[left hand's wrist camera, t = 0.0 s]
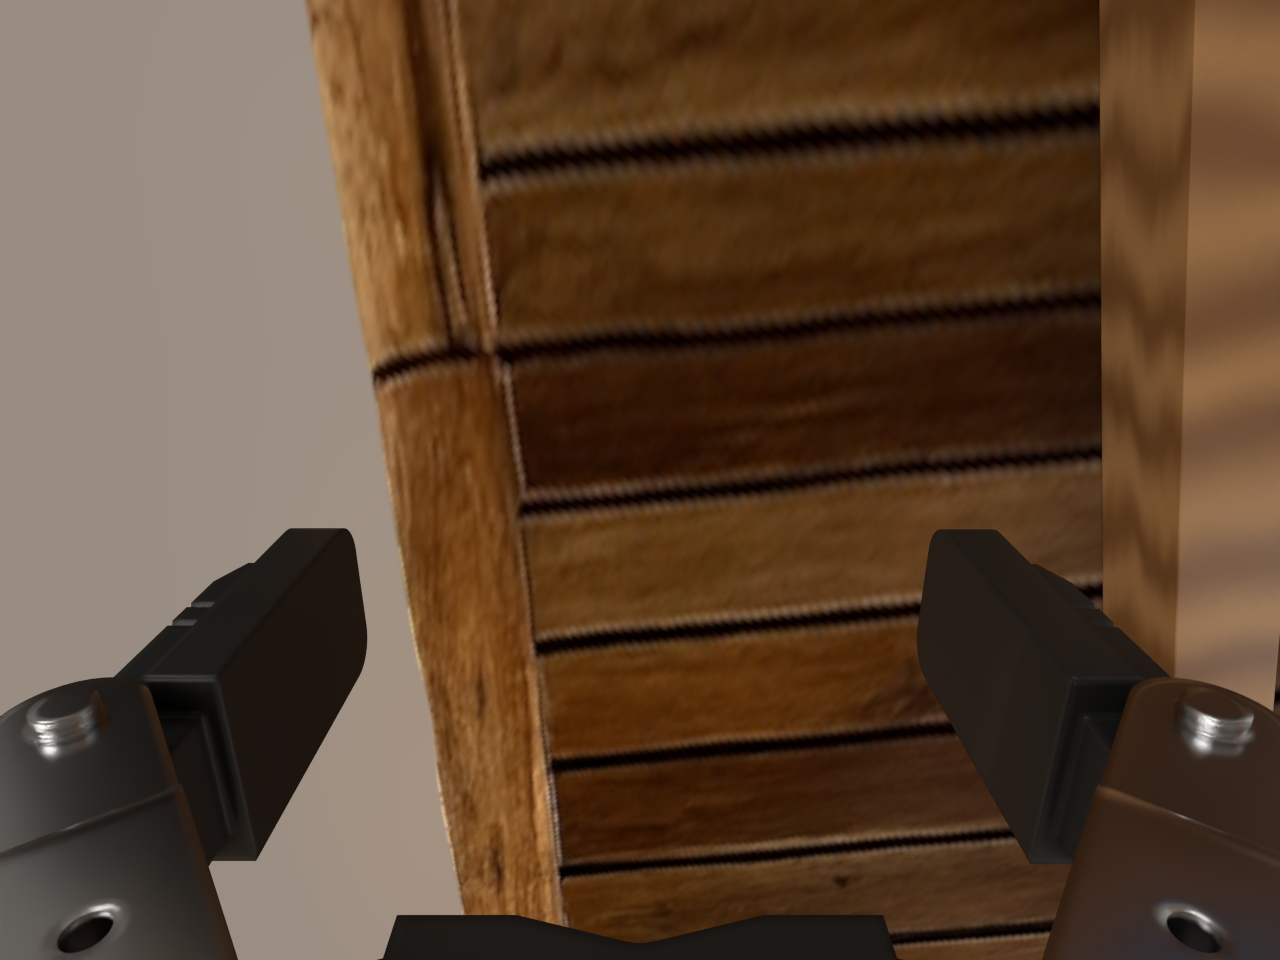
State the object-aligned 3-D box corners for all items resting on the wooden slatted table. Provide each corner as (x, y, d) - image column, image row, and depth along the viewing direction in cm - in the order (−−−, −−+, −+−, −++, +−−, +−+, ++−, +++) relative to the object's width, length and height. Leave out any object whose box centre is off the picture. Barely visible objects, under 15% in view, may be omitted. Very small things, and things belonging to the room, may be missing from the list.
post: (1097, -181, 32) (1204, -264, 26) (1222, -212, 32) (1360, -303, 25) (1104, 933, 54) (1163, 1030, 48) (1178, 922, 53) (1247, 1018, 47)
